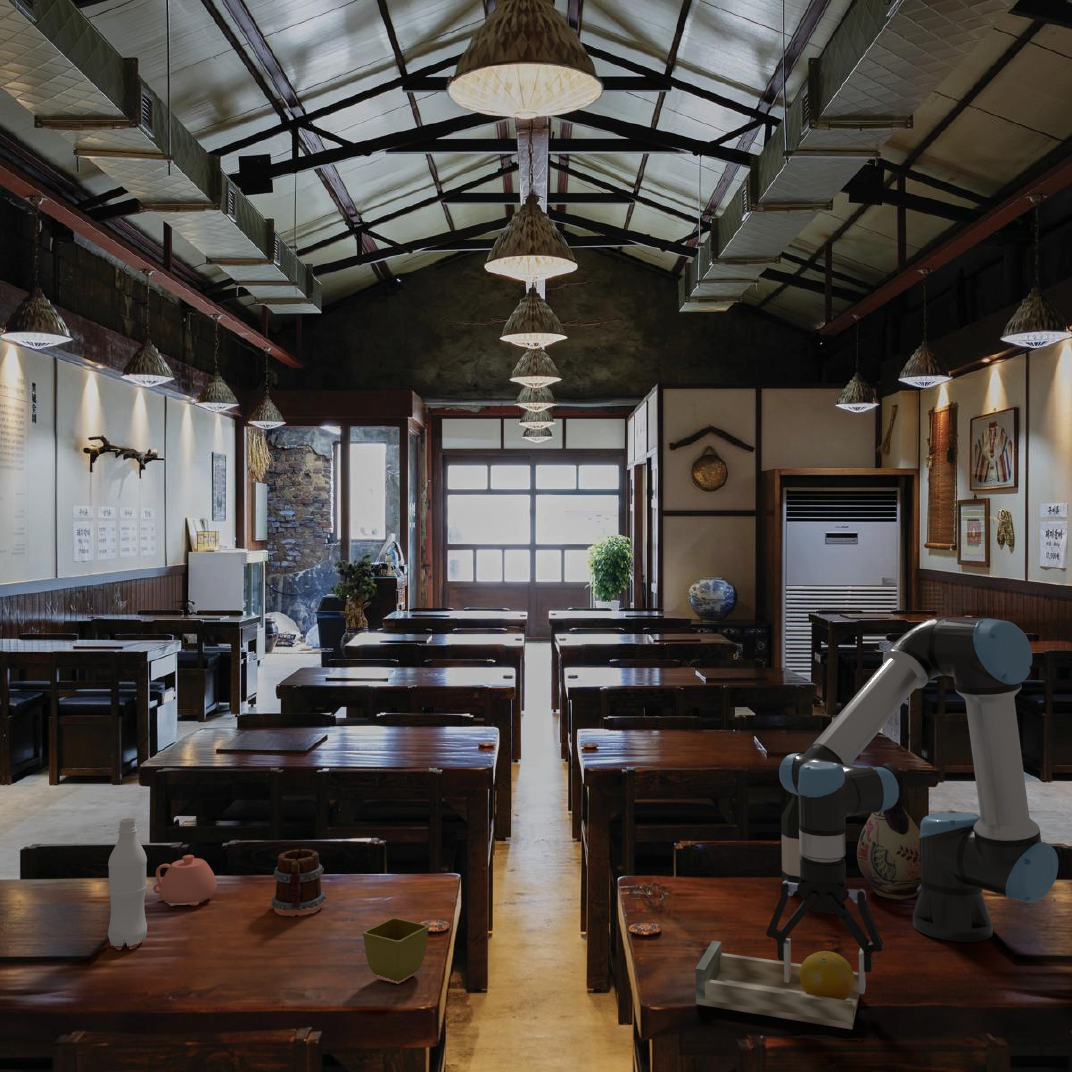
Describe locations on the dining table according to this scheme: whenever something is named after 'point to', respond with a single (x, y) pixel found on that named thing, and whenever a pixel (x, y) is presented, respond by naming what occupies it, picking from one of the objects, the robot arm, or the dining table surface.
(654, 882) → the dining table surface
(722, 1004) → the channel
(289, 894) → the mug
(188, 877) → the sugar bowl
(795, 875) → the wine bottle
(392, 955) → the flower pot
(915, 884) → the ceramic jug
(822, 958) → the fruit
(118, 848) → the water bottle
